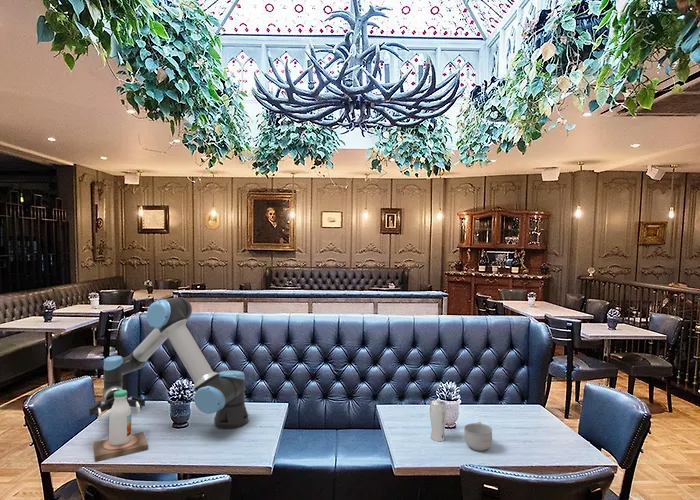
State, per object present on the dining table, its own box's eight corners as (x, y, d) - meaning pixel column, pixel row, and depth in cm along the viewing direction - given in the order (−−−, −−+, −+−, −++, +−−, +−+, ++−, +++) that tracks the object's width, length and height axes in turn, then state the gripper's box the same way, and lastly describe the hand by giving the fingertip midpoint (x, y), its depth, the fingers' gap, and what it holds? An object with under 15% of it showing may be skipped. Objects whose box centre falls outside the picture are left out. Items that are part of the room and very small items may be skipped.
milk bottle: (121, 447, 164) (122, 395, 164) (104, 445, 166) (104, 393, 166) (135, 438, 172) (135, 389, 172) (118, 436, 173) (119, 387, 173)
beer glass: (428, 440, 177) (428, 404, 177) (431, 433, 184) (431, 398, 184) (445, 443, 175) (445, 406, 175) (447, 436, 182) (447, 400, 182)
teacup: (488, 456, 164) (488, 435, 164) (460, 449, 170) (460, 429, 170) (496, 442, 176) (496, 423, 176) (470, 436, 181) (470, 417, 181)
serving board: (143, 436, 180) (143, 430, 180) (148, 449, 168) (148, 443, 168) (93, 447, 170) (93, 440, 170) (95, 461, 158) (95, 454, 158)
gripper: (146, 400, 194) (154, 416, 176) (81, 412, 180) (82, 430, 162) (146, 384, 194) (154, 398, 176) (81, 394, 180) (83, 410, 162)
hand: (120, 413), depth 169 cm, fingers open, 13 cm apart
